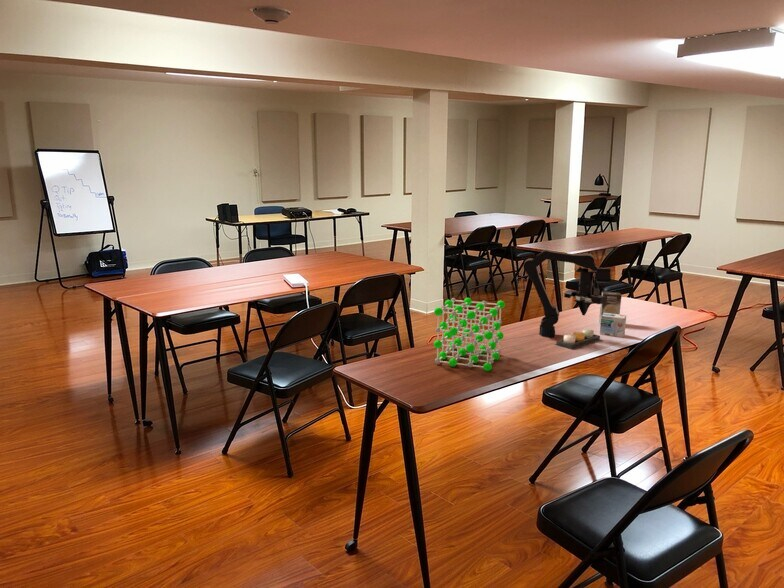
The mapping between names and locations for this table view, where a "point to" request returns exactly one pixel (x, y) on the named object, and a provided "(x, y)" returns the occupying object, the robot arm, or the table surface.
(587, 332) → the sage button
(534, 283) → the robot arm
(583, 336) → the amber button
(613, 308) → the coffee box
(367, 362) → the table surface
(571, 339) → the ivory button
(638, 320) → the table surface
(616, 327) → the light bulb box
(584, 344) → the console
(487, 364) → the molecular structure model
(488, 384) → the table surface
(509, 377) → the table surface
